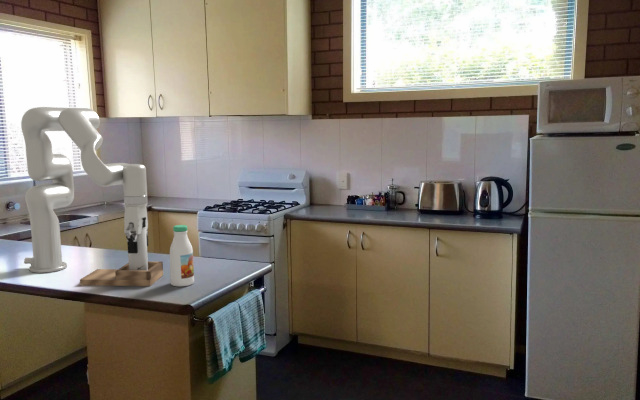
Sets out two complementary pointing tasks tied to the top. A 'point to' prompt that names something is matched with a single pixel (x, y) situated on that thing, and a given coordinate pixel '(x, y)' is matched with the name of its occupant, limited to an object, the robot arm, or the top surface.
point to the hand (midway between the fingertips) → (138, 249)
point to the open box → (125, 276)
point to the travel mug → (140, 251)
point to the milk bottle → (181, 258)
